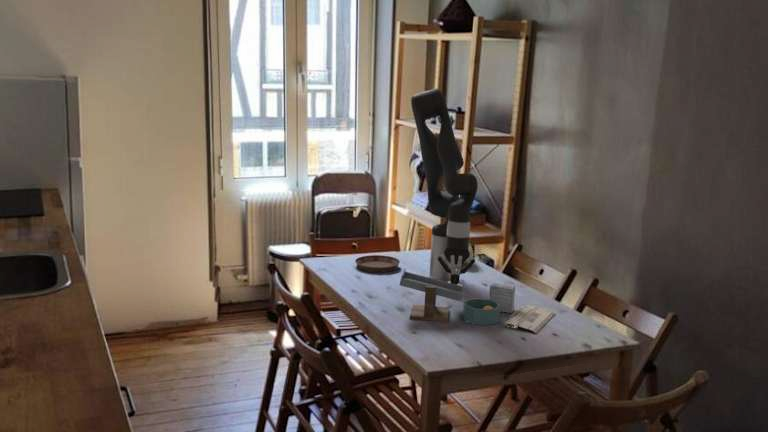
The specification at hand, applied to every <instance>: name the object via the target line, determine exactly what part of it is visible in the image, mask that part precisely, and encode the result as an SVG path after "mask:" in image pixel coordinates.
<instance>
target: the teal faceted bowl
mask: <svg viewBox="0 0 768 432" xmlns="http://www.w3.org/2000/svg"><path fill="white" fill-rule="evenodd" d="M462 306H463V307H462V308H463V309H462V318H463V320H464V322H467V321H468V322H467V323H469V322H470V323H469V324H472V323H473V324H472V325H477V324H482V325H481V326H489V325H488V324H493V325H495V323H496V324H498V323H499V322H500V318H501V312H500V305H499V303H498V302H495V301H492V300H490V299H489V298H479V297H478V298H477V297H476V298H468V299H466V300H465V301H463V305H462ZM485 306H491V307H493V309H487V310H484V309H483V308H484V307H485ZM498 321H499V322H498Z"/></svg>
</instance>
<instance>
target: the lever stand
mask: <svg viewBox="0 0 768 432" xmlns="http://www.w3.org/2000/svg"><path fill="white" fill-rule="evenodd" d="M427 277H428V278H432V279H436V280H437V277H430V276H427ZM436 304H437V295H435V287H434V286H426V287H425V292H424V305H420V304H412V307H411V310H410V314H409V320H414V321H415V320H417V321H418V320H419V321H427V322H429V321H430V322H443V323H448V322H447V321H448V319H449V312H450V307H448V306H446V307H445V306H437V305H436Z"/></svg>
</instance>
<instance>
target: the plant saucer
mask: <svg viewBox="0 0 768 432" xmlns="http://www.w3.org/2000/svg"><path fill="white" fill-rule="evenodd" d="M354 262H355V264H356V265H357V267H358V268H359V269H360V270H362V271H365V272H369V273H389V272H392V271H394V270H395V269H397V267H398V266H399V264H400V259H398V258H396V257H393V256H389V255H378V254H377V255H376V254H375V255H374V254H373V255H372V254H371V255H363V256H360V257H357V258H356V259H355V261H354Z"/></svg>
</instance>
